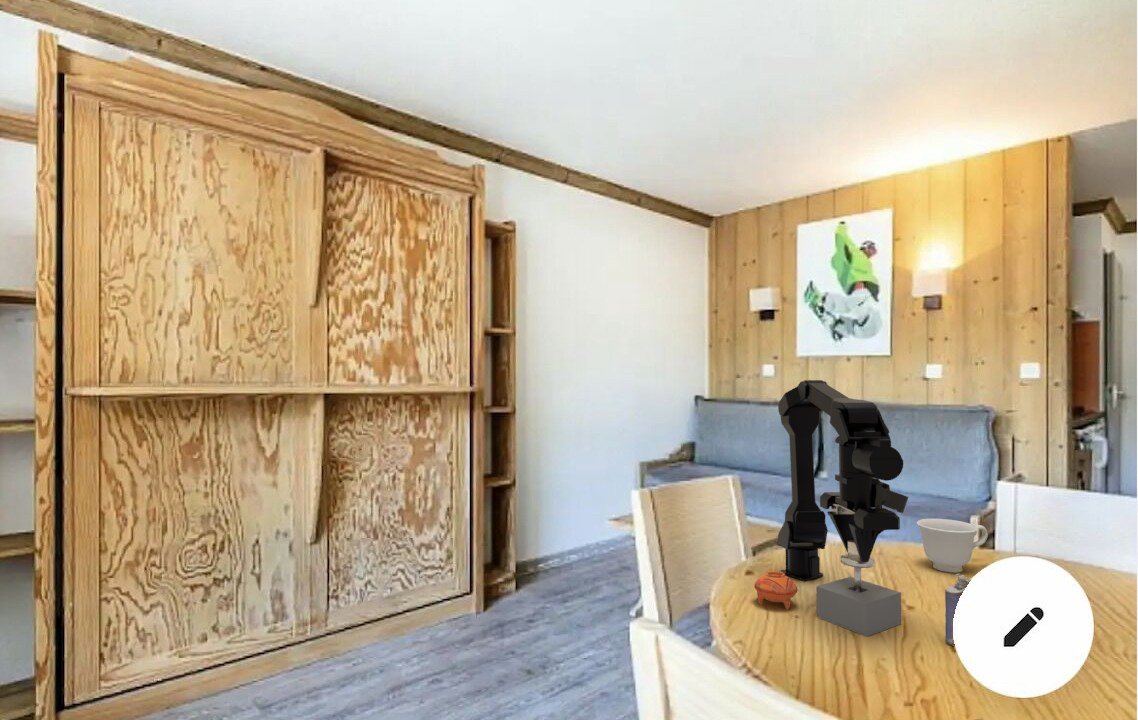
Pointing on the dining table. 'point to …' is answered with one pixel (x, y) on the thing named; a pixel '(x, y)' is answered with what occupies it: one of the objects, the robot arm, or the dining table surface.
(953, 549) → the teacup
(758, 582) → the pot
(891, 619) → the box
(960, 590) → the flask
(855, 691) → the dining table surface
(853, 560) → the plunger
